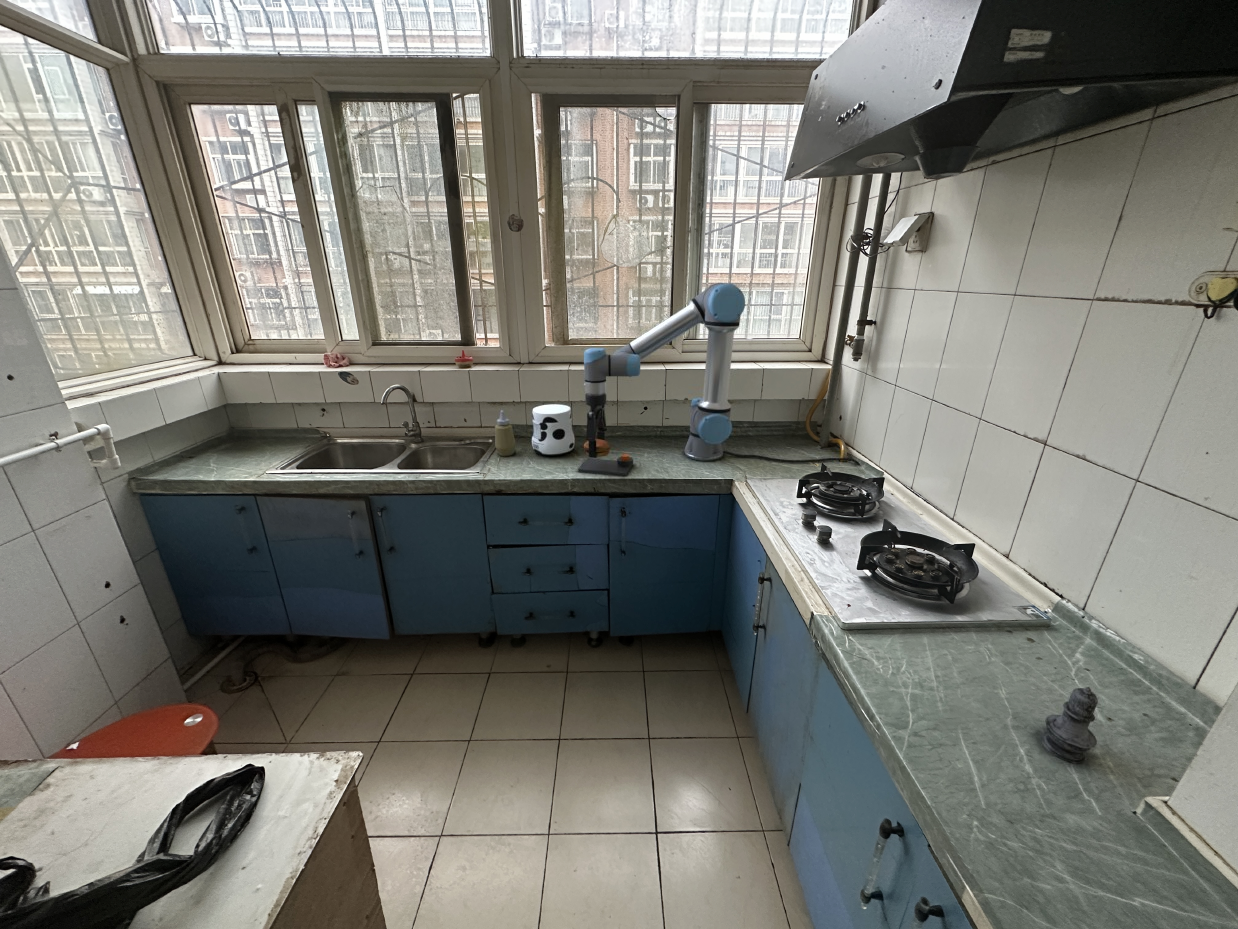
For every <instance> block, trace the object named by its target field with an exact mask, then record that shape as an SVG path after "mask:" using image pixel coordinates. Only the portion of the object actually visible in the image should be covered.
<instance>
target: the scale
mask: <svg viewBox="0 0 1238 929" xmlns="http://www.w3.org/2000/svg"><path fill="white" fill-rule="evenodd" d="M633 466H634V458H633V457H632V456H629V460H627V461H623V460H621V456H619V457H617V459H604V458H589V457H587V459H586V460H585V461H584V462H583V463H582V464H581V466H579V467H578V469H577V472H578V473H585V474H595V475H607V476H619V477H626V476H627V475H628V473H629V472H630V470H631V469H632V467H633Z"/></svg>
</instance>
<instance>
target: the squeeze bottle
mask: <svg viewBox="0 0 1238 929" xmlns="http://www.w3.org/2000/svg"><path fill="white" fill-rule="evenodd" d="M494 447H495V449H496V451H497V454H498V455H499V456H502V457H508V456H512V455H513V454H514V452H515V448H516V440H515V435H514V430H513V425H512V424H511V423H510V419H509V418H507V417H506V414H505V411H504V410H500V413H499V418H498V419H496V425H495V426H494Z"/></svg>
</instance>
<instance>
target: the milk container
mask: <svg viewBox="0 0 1238 929" xmlns="http://www.w3.org/2000/svg"><path fill="white" fill-rule="evenodd" d="M531 412H532V417H531V418H532V436H531V445H532V449H533V451H534V452H535V453H537V454H539V455H543V456H551V457H553V456H562V455H566V454H568V453H570V452H572V451H573V450H574V448H575V442H576V440H575V439H576V437H575V434H574V431H573V424H572V422H573V420H572V419H573V418H572V409H571V407H570V406H569V405H565V404H558V403H557V404H555V403H554V404H544V405H543V404H542V405H538V406H535V407H534V408H532V411H531Z"/></svg>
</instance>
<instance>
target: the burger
mask: <svg viewBox="0 0 1238 929" xmlns="http://www.w3.org/2000/svg"><path fill="white" fill-rule="evenodd" d="M595 440H596V448H597V458H601V457H602V458H603V457H606V456H608V455H609V453H610V450H611V447H610V443H609V442H608V441H607V440H605V441H604V440H600V439H597V438H595ZM583 450H584V452H585V453H586V455H588V456H589V443H588V441H586V442H584V444H583Z"/></svg>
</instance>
